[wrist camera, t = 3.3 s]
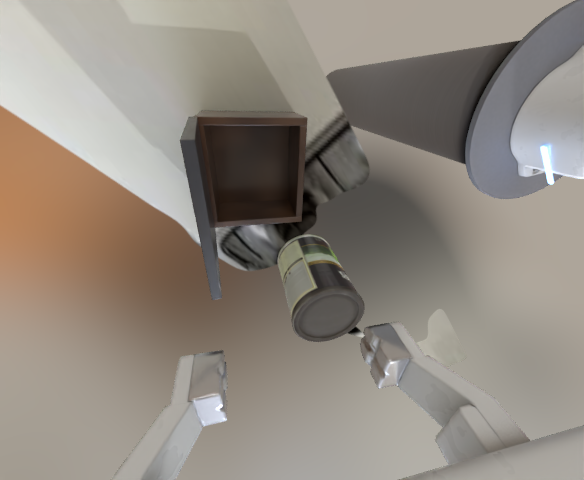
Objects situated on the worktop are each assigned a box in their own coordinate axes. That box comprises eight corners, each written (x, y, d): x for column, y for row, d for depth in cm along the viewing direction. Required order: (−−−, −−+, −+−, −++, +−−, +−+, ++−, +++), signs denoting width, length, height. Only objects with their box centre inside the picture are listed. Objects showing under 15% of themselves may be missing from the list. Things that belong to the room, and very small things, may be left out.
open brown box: (294, 112, 32) (307, 117, 26) (291, 201, 38) (301, 221, 33) (201, 110, 30) (193, 116, 24) (215, 205, 36) (212, 228, 31)
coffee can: (323, 224, 42) (358, 278, 30) (336, 266, 48) (369, 325, 36) (268, 247, 42) (281, 309, 30) (287, 286, 48) (305, 351, 36)
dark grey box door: (194, 139, 14) (179, 139, 14) (221, 298, 21) (212, 300, 20) (197, 116, 24) (188, 116, 24) (215, 229, 30) (208, 230, 30)
